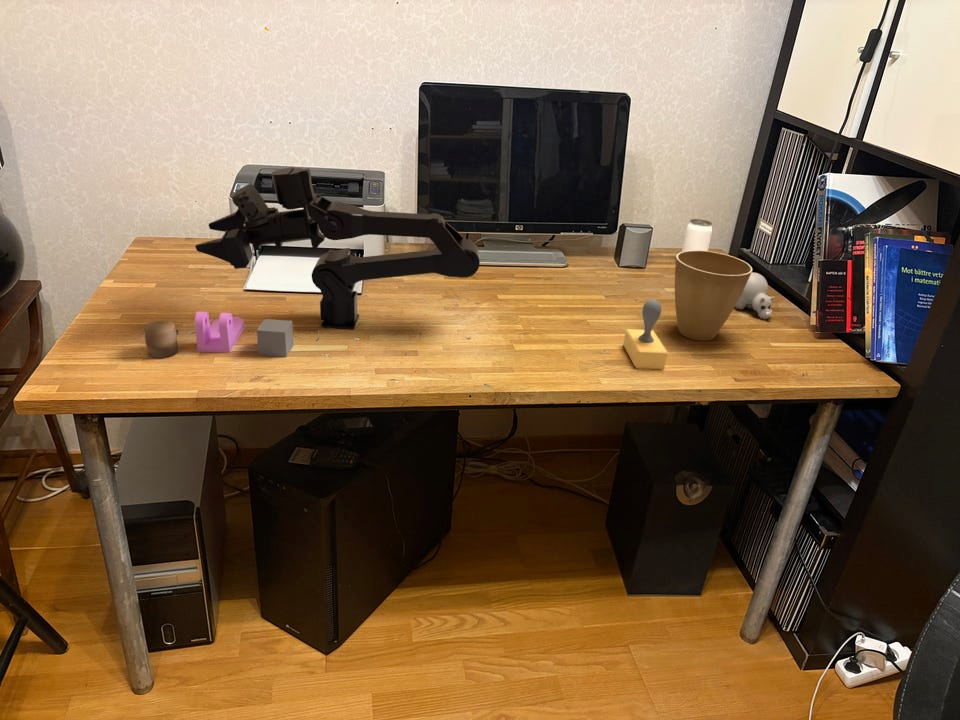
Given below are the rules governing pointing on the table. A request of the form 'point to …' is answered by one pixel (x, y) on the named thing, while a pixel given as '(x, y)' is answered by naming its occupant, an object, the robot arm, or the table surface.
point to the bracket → (217, 332)
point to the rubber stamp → (646, 340)
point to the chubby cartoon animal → (756, 296)
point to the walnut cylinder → (161, 339)
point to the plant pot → (707, 291)
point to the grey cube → (275, 338)
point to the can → (697, 235)
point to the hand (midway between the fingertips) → (202, 236)
